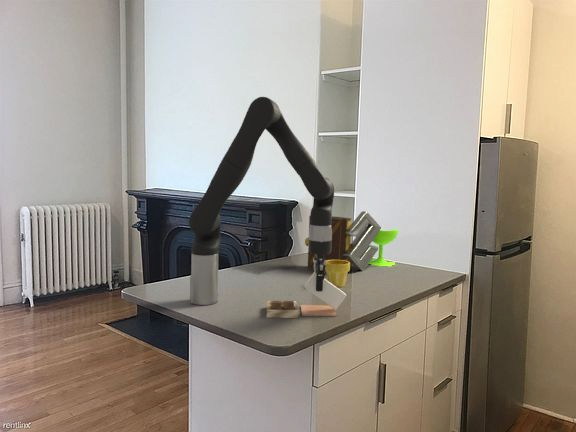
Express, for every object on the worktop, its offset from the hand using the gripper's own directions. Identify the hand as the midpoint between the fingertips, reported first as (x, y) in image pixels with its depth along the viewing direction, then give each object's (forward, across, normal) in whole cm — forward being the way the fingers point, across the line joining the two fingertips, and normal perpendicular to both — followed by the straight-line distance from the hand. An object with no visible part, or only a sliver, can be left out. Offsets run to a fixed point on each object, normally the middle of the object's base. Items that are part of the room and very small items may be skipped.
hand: (318, 289), depth 163 cm
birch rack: (+7, +2, -12) cm, 14 cm away
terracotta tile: (+7, 0, 0) cm, 7 cm away
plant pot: (+8, -36, +11) cm, 38 cm away
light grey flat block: (+4, 0, +8) cm, 8 cm away
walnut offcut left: (+6, +4, -14) cm, 16 cm away
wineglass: (+8, -81, +39) cm, 91 cm away
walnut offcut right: (+6, +4, -10) cm, 13 cm away
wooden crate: (+8, -65, +10) cm, 66 cm away
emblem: (+8, -65, +26) cm, 71 cm away
